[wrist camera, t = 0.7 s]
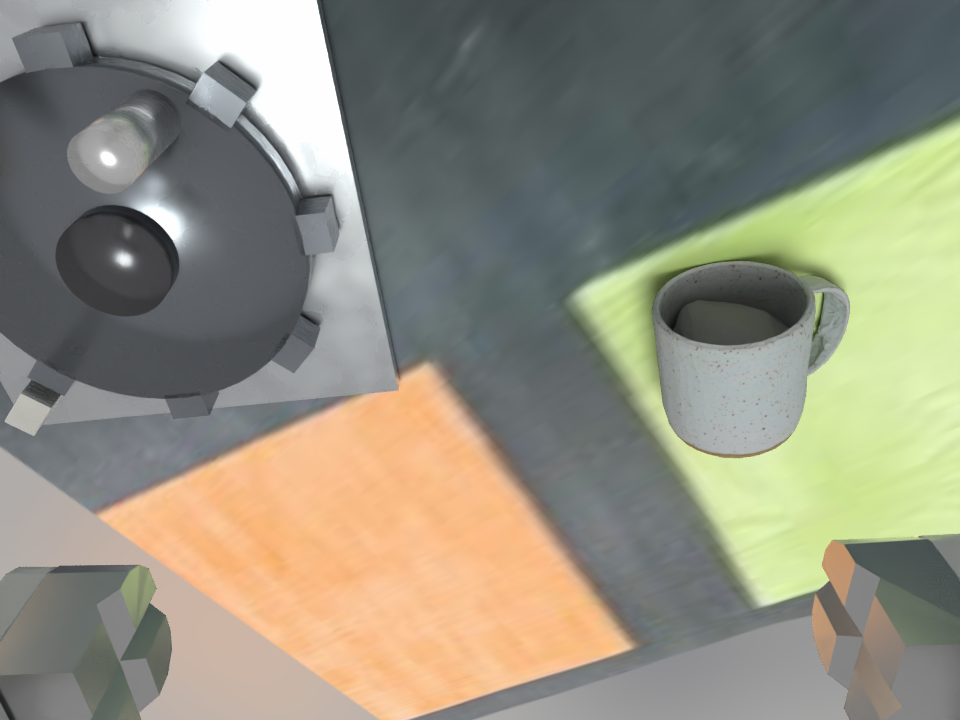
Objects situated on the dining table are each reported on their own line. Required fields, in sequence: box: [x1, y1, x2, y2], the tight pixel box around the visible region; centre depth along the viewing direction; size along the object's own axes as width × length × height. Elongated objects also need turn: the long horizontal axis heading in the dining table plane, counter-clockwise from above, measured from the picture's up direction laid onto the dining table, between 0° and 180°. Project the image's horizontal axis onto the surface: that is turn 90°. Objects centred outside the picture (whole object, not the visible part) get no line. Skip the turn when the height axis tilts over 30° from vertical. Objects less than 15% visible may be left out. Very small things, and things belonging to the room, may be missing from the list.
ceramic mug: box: [652, 261, 850, 458], centre depth 40 cm, size 11×8×8 cm
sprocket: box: [0, 22, 340, 419], centre depth 35 cm, size 20×20×8 cm
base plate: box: [0, 0, 400, 436], centre depth 37 cm, size 22×22×4 cm
